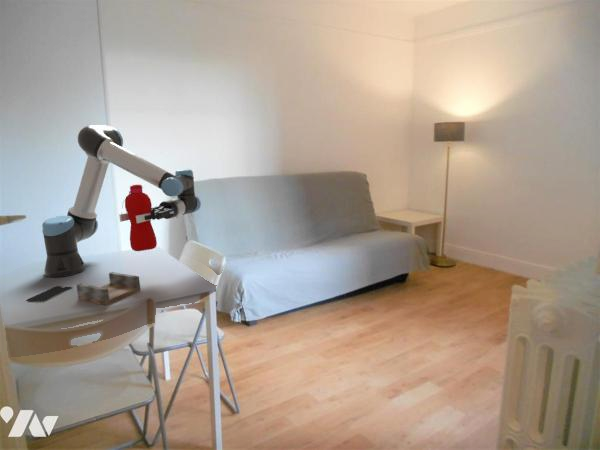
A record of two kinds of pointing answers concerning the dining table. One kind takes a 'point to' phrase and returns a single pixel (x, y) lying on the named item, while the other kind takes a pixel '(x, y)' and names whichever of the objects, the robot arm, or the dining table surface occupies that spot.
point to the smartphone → (49, 294)
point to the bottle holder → (110, 289)
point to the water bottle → (141, 232)
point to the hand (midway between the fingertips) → (128, 218)
